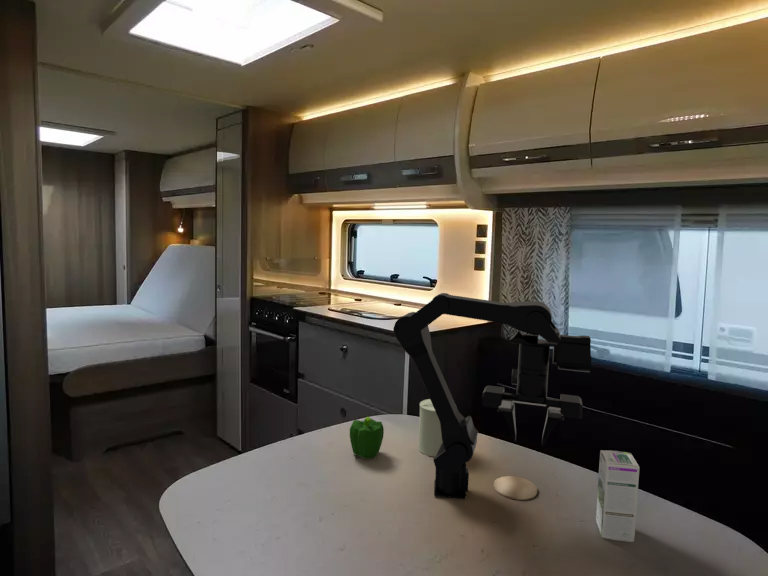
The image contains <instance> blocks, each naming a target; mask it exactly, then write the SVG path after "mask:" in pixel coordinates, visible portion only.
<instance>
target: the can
mask: <svg viewBox="0 0 768 576" xmlns="http://www.w3.org/2000/svg"><path fill="white" fill-rule="evenodd" d="M455 405H456V403H455ZM456 406H457V405H456ZM418 422H419V424H418V426H419V427H418V428H419V429H418V430H419V431H418V445H417V450H418V451H419V452H420V453H422V454H423V455H425V456H428V457H433V458H435V456H436V454H437V452H438V450H439V448H440V446H441V444H442V443H443V441H442V435H441V425H440V421H439V418H438V416H437V414H436V411H435V409H434V407H433V404H432V402H431V400H430V398H427V399H423V400H422V401H420V402H419V421H418Z"/></svg>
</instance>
